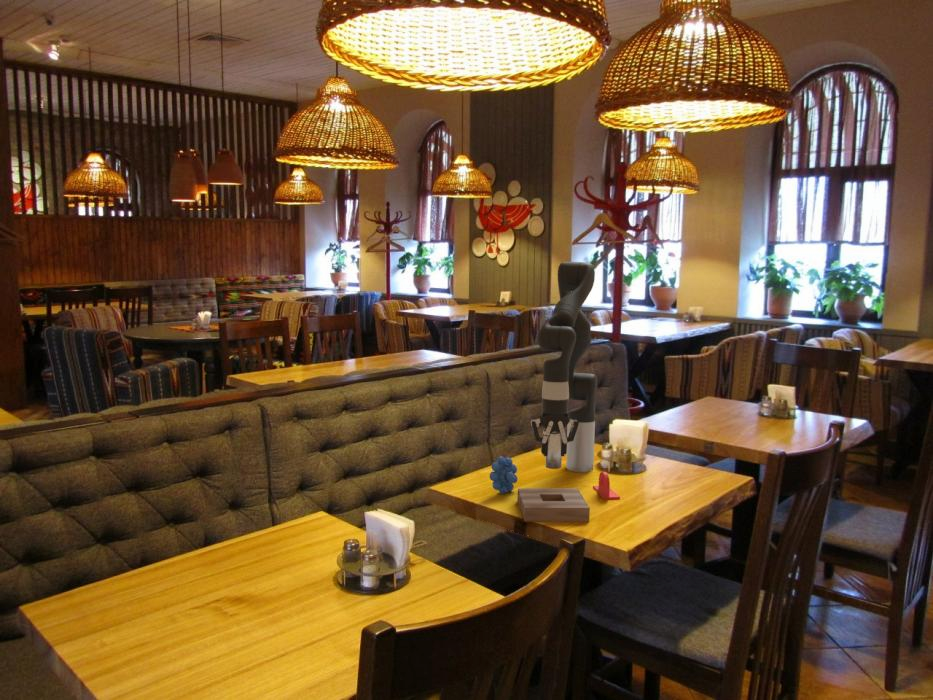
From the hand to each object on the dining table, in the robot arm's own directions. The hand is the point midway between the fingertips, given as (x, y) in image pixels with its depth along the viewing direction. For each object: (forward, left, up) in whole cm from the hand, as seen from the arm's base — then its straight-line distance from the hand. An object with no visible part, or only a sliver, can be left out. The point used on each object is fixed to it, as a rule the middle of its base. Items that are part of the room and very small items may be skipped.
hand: (553, 455), depth 221 cm
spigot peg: (0, 0, -3) cm, 3 cm away
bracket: (-16, +19, -17) cm, 30 cm away
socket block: (0, 0, -16) cm, 16 cm away
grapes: (-16, -12, -17) cm, 26 cm away
